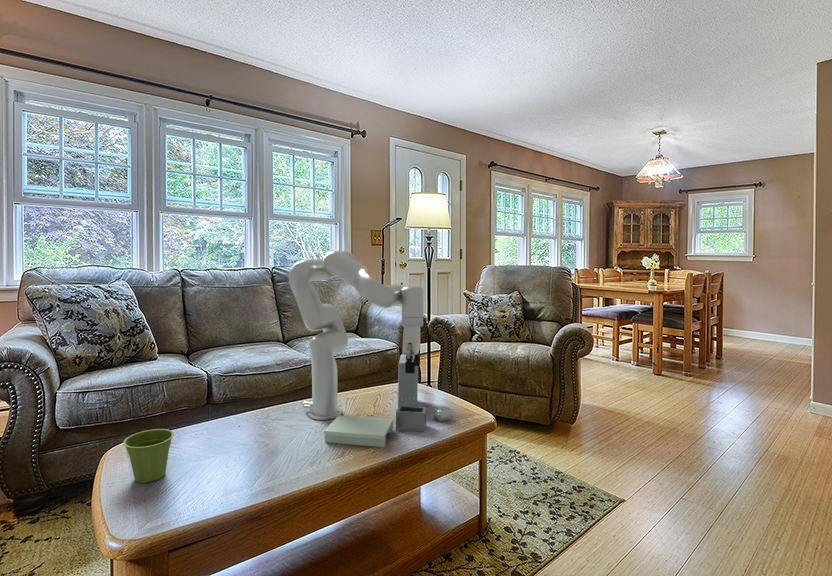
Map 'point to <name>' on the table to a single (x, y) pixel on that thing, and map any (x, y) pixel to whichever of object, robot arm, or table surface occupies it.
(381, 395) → the table surface
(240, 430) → the table surface
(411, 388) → the hard drive box
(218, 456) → the table surface
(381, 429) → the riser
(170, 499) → the table surface
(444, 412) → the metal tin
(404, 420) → the housing
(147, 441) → the plant pot
